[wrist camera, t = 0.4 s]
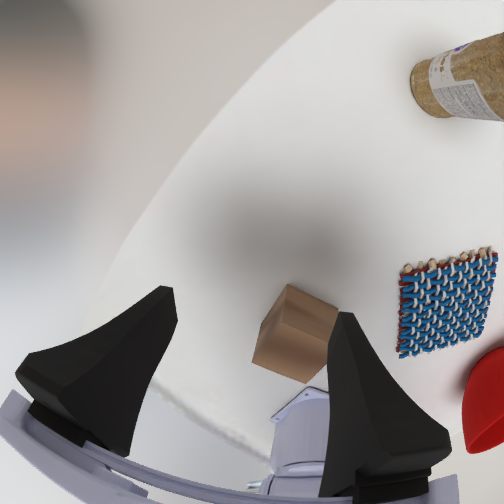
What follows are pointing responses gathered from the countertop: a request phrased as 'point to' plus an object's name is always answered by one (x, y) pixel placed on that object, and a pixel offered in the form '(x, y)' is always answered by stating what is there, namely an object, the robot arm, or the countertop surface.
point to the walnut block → (295, 335)
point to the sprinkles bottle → (463, 81)
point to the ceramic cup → (484, 404)
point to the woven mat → (445, 302)
